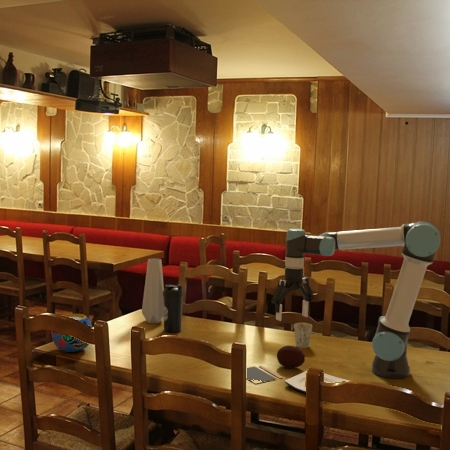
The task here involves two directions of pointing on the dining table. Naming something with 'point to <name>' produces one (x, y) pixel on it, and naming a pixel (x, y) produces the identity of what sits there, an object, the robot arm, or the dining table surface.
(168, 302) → the water bottle
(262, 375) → the mat
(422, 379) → the dining table surface
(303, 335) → the mug
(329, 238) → the robot arm
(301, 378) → the plate
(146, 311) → the vase
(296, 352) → the potato
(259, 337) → the dining table surface
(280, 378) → the pink thin rod
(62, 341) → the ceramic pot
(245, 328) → the dining table surface
